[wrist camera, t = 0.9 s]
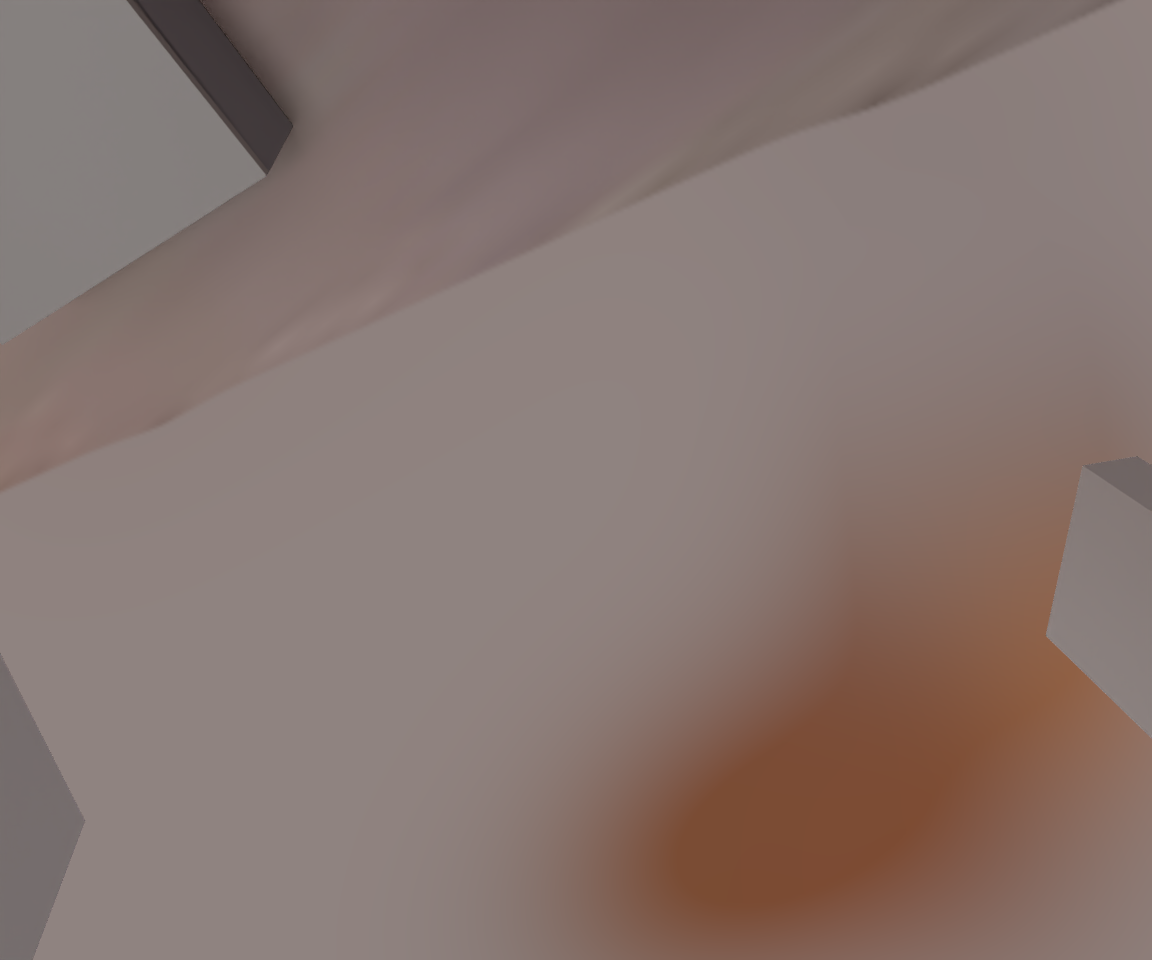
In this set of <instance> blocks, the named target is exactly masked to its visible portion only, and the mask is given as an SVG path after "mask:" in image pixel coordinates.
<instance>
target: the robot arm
mask: <svg viewBox="0 0 1152 960" xmlns="http://www.w3.org/2000/svg"><path fill="white" fill-rule="evenodd" d="M1046 636H1047V637H1048V638H1049V639H1050V640H1051V641H1052V642H1053V643H1054V644H1055V645H1056V646H1057V647H1058V648H1059V649H1060V650H1061V651H1062V652H1063V653H1064V654H1065V655H1067V657H1068V658H1069V659H1071V660H1072V661H1073V662H1074V663H1075V664H1076V665H1077V666H1078V667H1079V668H1080V669H1081V670H1082V671H1083V672H1084V673H1085V674H1086V675H1087V676H1088V677H1089V678H1090V679H1091V680H1092V681H1093V682H1094V683H1095V684H1096V685H1097V686H1098V687H1099V688H1100V689H1101V690H1103V692H1104V693H1106V694H1107V695H1108V696H1109V697H1110V698H1111V699H1112V700H1113V701H1114V702H1115V703H1116V704H1117V705H1118V706H1119V707H1120V708H1121V709H1122V710H1123V711H1124V712H1125V713H1126V714H1127V715H1128V716H1129V717H1130V718H1131V719H1132V720H1133V721H1134V722H1135V723H1136V724H1137V725H1138V726H1139V727H1141V728H1142V729H1143V730H1144V731H1145V732H1146V733H1147V734H1148V735H1149V736H1150V737H1151V738H1152V465H1151V464H1149V463H1147V462H1146V461H1144V460H1142V459H1141V458H1139V457H1138V456H1136V457H1130V458H1125V459H1119V460H1113V461H1107V462H1101V463H1095V464H1089V465H1083V467H1082V472H1081V476H1080V481H1079V485H1078V490H1077V494H1076V500H1075V504H1074V508H1073V513H1072V518H1071V522H1070V527H1069V531H1068V536H1067V541H1066V545H1065V550H1064V554H1063V559H1062V564H1061V568H1060V573H1059V577H1058V582H1057V586H1056V591H1055V596H1054V600H1053V605H1052V609H1051V614H1050V619H1049V624H1048V628H1047V633H1046ZM84 822H85V819H84V817H83V815H82V813H81V812H80V810H79V808H78V806H77V804H76V802H75V800H74V798H73V796H72V794H71V792H70V790H69V788H68V786H67V784H66V782H65V780H64V778H63V776H62V774H61V772H60V770H59V768H58V766H57V764H56V762H55V760H54V758H53V756H52V754H51V752H50V750H49V748H48V746H47V744H46V742H45V740H44V738H43V736H42V735H41V733H40V731H39V729H38V727H37V725H36V723H35V721H34V719H33V717H32V715H31V713H30V711H29V709H28V707H27V705H26V703H25V701H24V699H23V697H22V695H21V693H20V691H19V689H18V687H17V685H16V683H15V681H14V679H13V677H12V676H11V674H10V671H9V669H8V667H7V666H6V664H5V662H4V660H3V658H2V656H1V654H0V960H33V957H34V955H35V952H36V949H37V947H38V944H39V941H40V939H41V936H42V933H43V931H44V928H45V926H46V923H47V920H48V918H49V915H50V912H51V909H52V907H53V904H54V902H55V899H56V896H57V894H58V891H59V889H60V886H61V883H62V881H63V878H64V875H65V873H66V870H67V867H68V864H69V862H70V859H71V857H72V854H73V851H74V849H75V846H76V844H77V841H78V838H79V836H80V833H81V830H82V828H83V825H84Z"/></svg>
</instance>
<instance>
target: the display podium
mask: <svg viewBox="0 0 1152 960" xmlns="http://www.w3.org/2000/svg"><path fill="white" fill-rule="evenodd" d="M292 127H293V125H292V124H291V123H290V121H289V120H288V119H287V117H286V116H285V115H284V113H283V112H282V111H281V109H280V108H279V107H278V105H277V104H276V103H275V101H274V100H273V99H272V97H271V96H270V95H269V93H268V92H267V91H266V89H265V88H264V87H263V85H262V84H261V83H260V81H259V80H258V79H257V77H256V76H255V75H254V73H253V72H252V71H251V69H250V68H249V67H248V65H247V64H246V63H245V61H244V60H243V59H242V57H241V56H240V55H239V53H238V52H237V51H236V49H235V48H234V47H233V45H232V44H231V43H230V41H229V40H228V39H227V37H226V36H225V35H224V33H223V32H222V31H221V29H220V28H219V27H218V25H217V24H216V23H215V21H214V20H213V19H212V17H211V16H210V15H209V13H208V12H207V11H206V9H205V8H204V7H203V5H202V4H201V3H200V1H199V0H0V343H1V344H2V345H3V344H5V343H6V342H8V341H9V340H11V339H13V338H14V337H16V336H17V335H19V334H20V333H22V332H23V331H25V330H27V329H28V328H30V327H31V326H33V325H34V324H36V323H38V322H39V321H41V320H42V319H44V318H45V317H47V316H48V315H50V314H52V313H53V312H55V311H56V310H58V309H59V308H61V307H63V306H64V305H66V304H67V303H69V302H70V301H72V300H73V299H75V298H77V297H78V296H80V295H81V294H83V293H84V292H86V291H88V290H89V289H91V288H92V287H94V286H95V285H97V284H98V283H100V282H102V281H103V280H105V279H106V278H108V277H109V276H111V275H113V274H114V273H116V272H117V271H119V270H120V269H122V268H123V267H125V266H127V265H128V264H130V263H131V262H133V261H134V260H136V259H138V258H139V257H141V256H142V255H144V254H145V253H147V252H148V251H150V250H152V249H153V248H155V247H156V246H158V245H159V244H161V243H163V242H164V241H166V240H167V239H169V238H170V237H172V236H173V235H175V234H177V233H178V232H180V231H181V230H183V229H184V228H186V227H188V226H189V225H191V224H192V223H194V222H195V221H197V220H198V219H200V218H202V217H203V216H205V215H206V214H208V213H209V212H211V211H213V210H214V209H216V208H217V207H219V206H220V205H222V204H223V203H225V202H227V201H228V200H230V199H231V198H233V197H234V196H236V195H238V194H239V193H241V192H242V191H244V190H245V189H247V188H248V187H250V186H252V185H253V184H255V183H256V182H258V181H259V180H261V179H263V178H264V177H266V176H267V174H268V172H269V170H270V169H271V167H272V165H273V163H274V161H275V159H276V157H277V155H278V154H279V152H280V150H281V148H282V146H283V144H284V142H285V140H286V139H287V137H288V135H289V133H290V131H291V129H292Z"/></svg>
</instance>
